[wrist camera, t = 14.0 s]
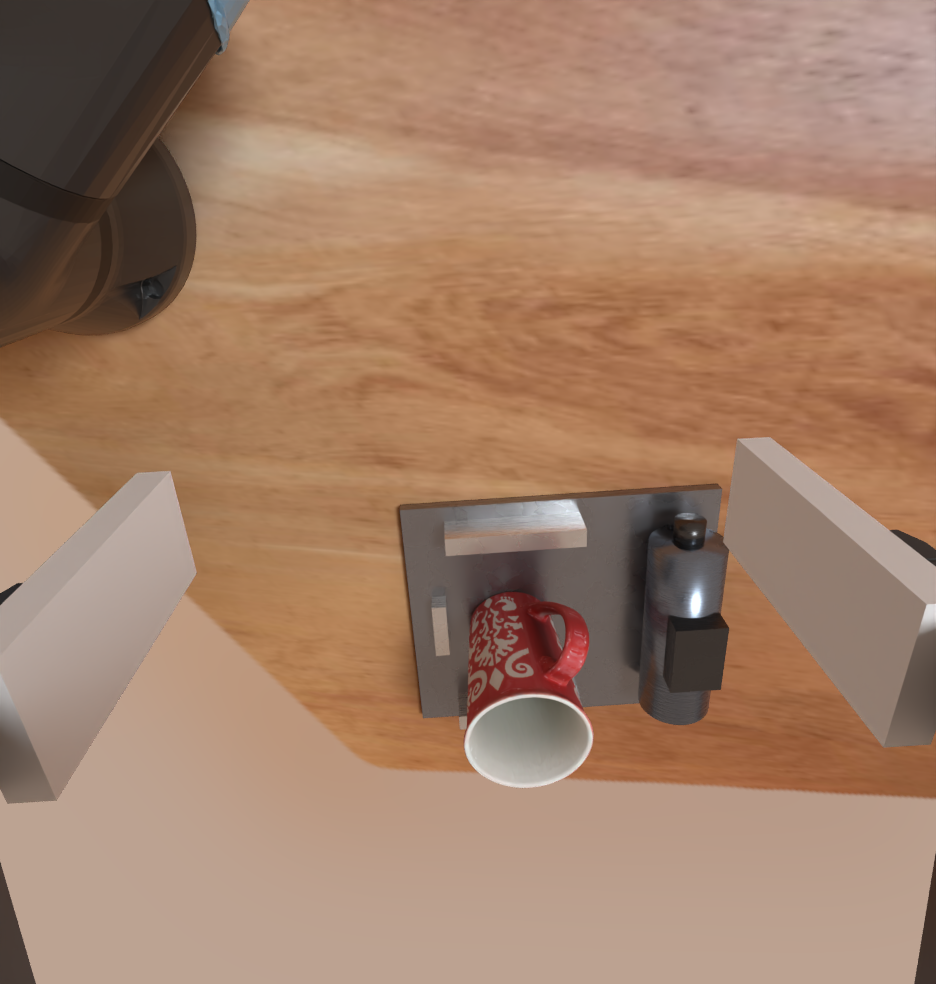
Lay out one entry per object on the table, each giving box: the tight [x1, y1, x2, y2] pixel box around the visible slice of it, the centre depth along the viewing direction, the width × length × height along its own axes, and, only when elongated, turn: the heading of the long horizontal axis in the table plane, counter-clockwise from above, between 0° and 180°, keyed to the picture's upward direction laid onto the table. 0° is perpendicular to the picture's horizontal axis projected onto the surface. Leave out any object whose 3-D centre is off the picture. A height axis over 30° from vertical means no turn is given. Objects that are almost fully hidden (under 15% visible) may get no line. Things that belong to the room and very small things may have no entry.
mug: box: [464, 592, 594, 788], centre depth 52 cm, size 13×9×14 cm
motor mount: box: [400, 484, 729, 729], centre depth 55 cm, size 26×22×8 cm
